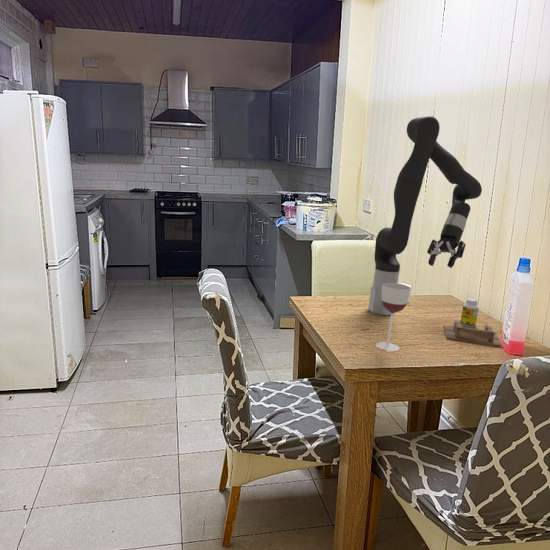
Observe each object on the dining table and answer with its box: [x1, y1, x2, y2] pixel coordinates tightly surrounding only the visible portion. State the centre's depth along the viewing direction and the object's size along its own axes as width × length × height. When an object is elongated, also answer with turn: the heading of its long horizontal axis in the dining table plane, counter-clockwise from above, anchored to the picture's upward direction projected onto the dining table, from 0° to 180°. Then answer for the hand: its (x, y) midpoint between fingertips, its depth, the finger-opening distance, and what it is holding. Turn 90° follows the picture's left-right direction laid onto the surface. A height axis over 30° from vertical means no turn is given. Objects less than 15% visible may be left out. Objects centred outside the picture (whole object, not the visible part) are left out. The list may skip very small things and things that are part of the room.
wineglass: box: [375, 282, 410, 352], centre depth 160 cm, size 8×9×20 cm
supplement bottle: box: [459, 297, 480, 329], centre depth 191 cm, size 6×6×10 cm
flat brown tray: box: [443, 319, 503, 348], centre depth 178 cm, size 14×18×4 cm
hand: (439, 266), depth 193 cm, fingers open, 8 cm apart
